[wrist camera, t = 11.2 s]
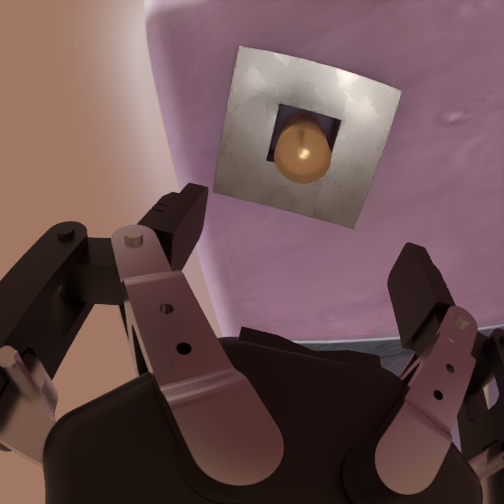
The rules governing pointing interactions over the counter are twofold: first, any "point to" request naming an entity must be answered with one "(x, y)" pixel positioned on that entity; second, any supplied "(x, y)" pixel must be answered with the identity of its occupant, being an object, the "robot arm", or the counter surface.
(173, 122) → the counter surface
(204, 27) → the counter surface
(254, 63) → the block
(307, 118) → the pipe stub
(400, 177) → the counter surface
